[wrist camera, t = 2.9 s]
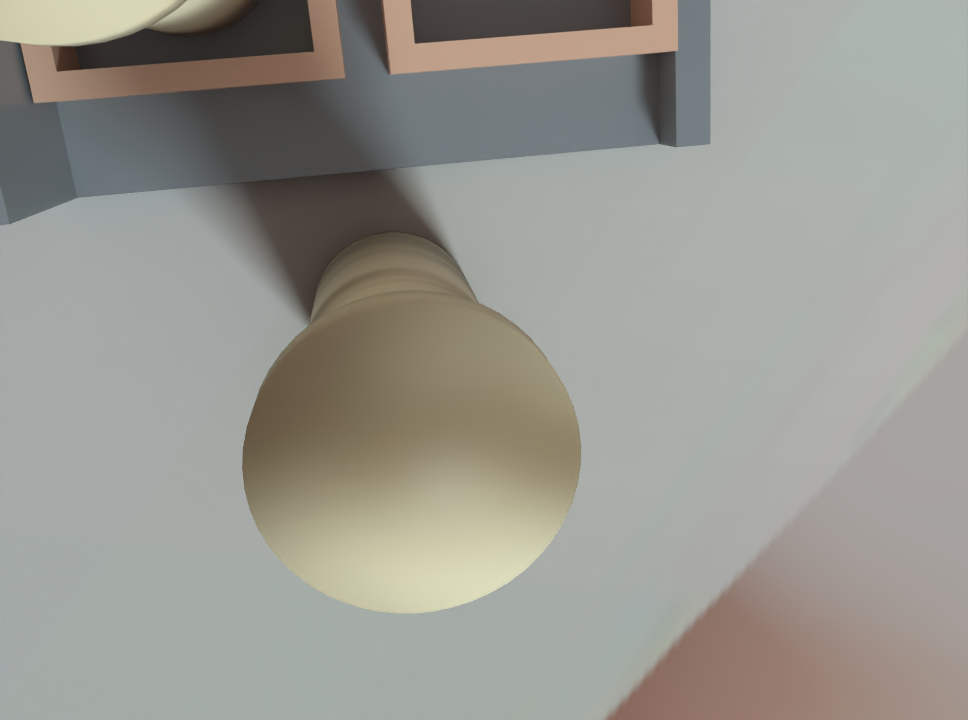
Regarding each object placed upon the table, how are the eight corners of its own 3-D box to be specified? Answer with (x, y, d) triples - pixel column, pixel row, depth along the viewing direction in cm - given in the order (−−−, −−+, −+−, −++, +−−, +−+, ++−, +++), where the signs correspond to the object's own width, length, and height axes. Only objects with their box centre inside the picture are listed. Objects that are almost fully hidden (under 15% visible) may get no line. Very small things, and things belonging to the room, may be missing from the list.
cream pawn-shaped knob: (500, 392, 29) (587, 588, 18) (307, 415, 29) (271, 635, 17) (485, 199, 27) (573, 284, 16) (277, 220, 27) (214, 323, 15)
